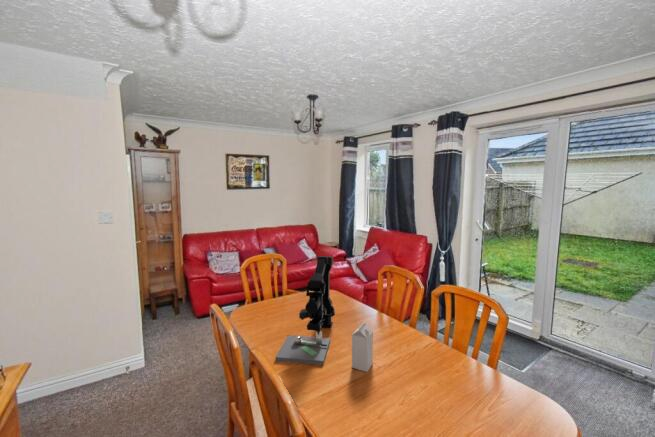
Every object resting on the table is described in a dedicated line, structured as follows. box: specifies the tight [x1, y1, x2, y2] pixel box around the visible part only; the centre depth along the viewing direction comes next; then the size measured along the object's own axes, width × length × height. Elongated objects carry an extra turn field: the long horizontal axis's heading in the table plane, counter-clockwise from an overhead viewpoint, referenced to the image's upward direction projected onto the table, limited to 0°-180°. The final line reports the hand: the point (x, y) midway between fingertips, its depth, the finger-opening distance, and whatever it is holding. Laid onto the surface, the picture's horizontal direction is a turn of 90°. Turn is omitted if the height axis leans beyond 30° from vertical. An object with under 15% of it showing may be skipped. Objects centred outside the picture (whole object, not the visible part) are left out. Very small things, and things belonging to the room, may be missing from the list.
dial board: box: [274, 335, 331, 366], centre depth 144 cm, size 20×22×2 cm
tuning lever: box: [293, 329, 327, 347], centre depth 145 cm, size 17×4×7 cm, turn 73°
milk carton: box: [351, 321, 374, 373], centre depth 130 cm, size 7×7×19 cm
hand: (317, 334), depth 147 cm, fingers closed
